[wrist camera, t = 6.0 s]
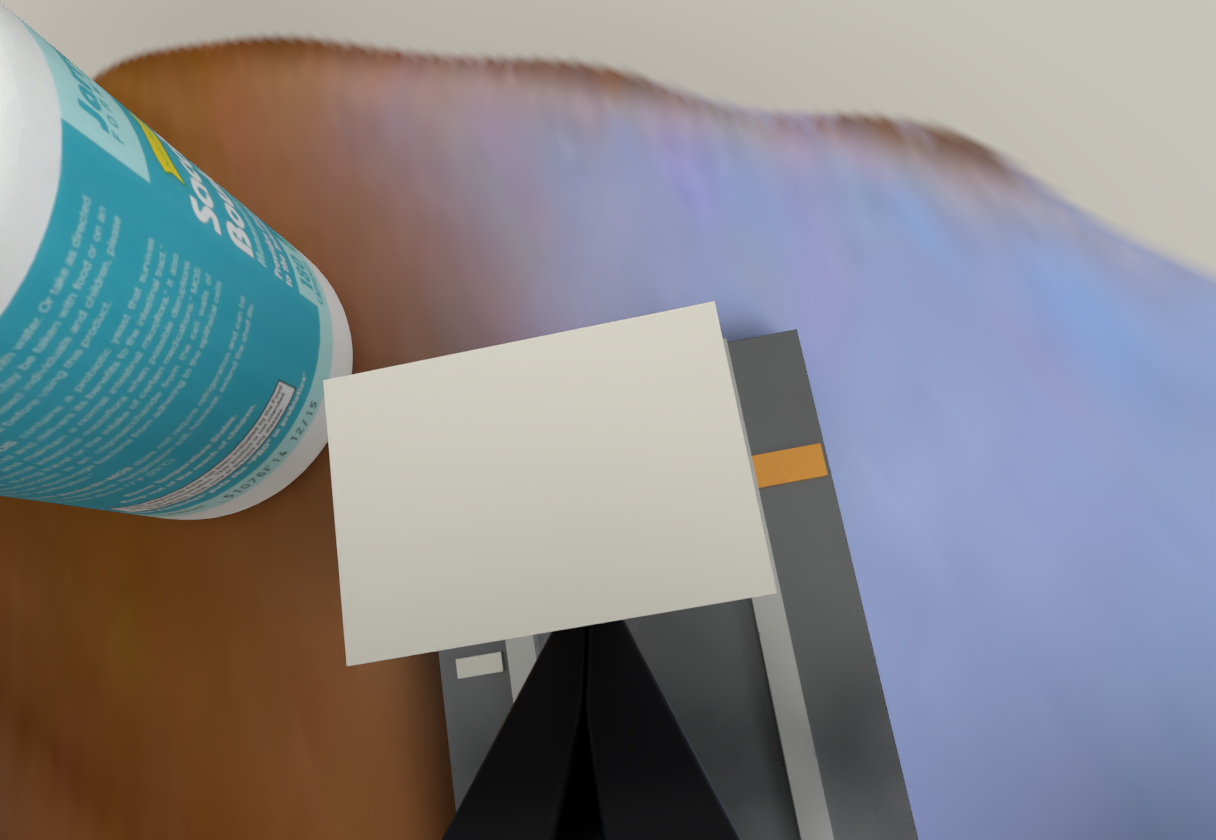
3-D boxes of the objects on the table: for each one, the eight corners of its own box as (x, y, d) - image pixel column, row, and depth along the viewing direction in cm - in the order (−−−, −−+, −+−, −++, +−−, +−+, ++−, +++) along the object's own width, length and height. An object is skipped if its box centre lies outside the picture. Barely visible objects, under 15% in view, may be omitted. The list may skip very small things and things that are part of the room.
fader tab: (734, 591, 16) (776, 592, 7) (548, 622, 16) (347, 666, 7) (708, 460, 17) (714, 301, 7) (529, 493, 17) (323, 379, 8)
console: (950, 1018, 15) (975, 1062, 13) (501, 1073, 16) (482, 1119, 14) (791, 342, 18) (798, 323, 17) (426, 414, 19) (404, 401, 17)
